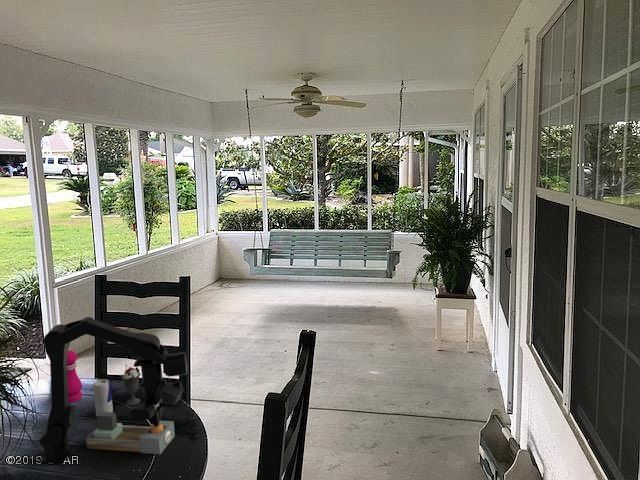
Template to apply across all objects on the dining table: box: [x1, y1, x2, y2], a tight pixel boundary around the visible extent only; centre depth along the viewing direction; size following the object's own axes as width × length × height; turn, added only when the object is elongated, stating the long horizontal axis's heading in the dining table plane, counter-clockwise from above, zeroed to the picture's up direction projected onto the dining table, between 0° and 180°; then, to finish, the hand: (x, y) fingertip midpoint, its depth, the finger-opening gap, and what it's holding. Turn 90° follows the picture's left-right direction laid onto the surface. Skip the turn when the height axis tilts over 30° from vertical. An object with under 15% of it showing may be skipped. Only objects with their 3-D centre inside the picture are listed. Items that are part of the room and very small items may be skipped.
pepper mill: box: [67, 349, 83, 404], centre depth 190 cm, size 7×7×20 cm
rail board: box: [85, 424, 150, 453], centre depth 162 cm, size 9×18×4 cm, turn 81°
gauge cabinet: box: [140, 420, 176, 455], centre depth 160 cm, size 10×6×5 cm, turn 171°
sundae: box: [120, 364, 142, 406], centre depth 187 cm, size 7×7×15 cm
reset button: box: [150, 423, 163, 434], centre depth 159 cm, size 4×4×4 cm
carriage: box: [92, 412, 123, 439], centre depth 162 cm, size 6×6×7 cm
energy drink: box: [92, 378, 114, 417], centre depth 178 cm, size 5×5×12 cm
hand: (156, 425), depth 159 cm, fingers closed, pressing on reset button
